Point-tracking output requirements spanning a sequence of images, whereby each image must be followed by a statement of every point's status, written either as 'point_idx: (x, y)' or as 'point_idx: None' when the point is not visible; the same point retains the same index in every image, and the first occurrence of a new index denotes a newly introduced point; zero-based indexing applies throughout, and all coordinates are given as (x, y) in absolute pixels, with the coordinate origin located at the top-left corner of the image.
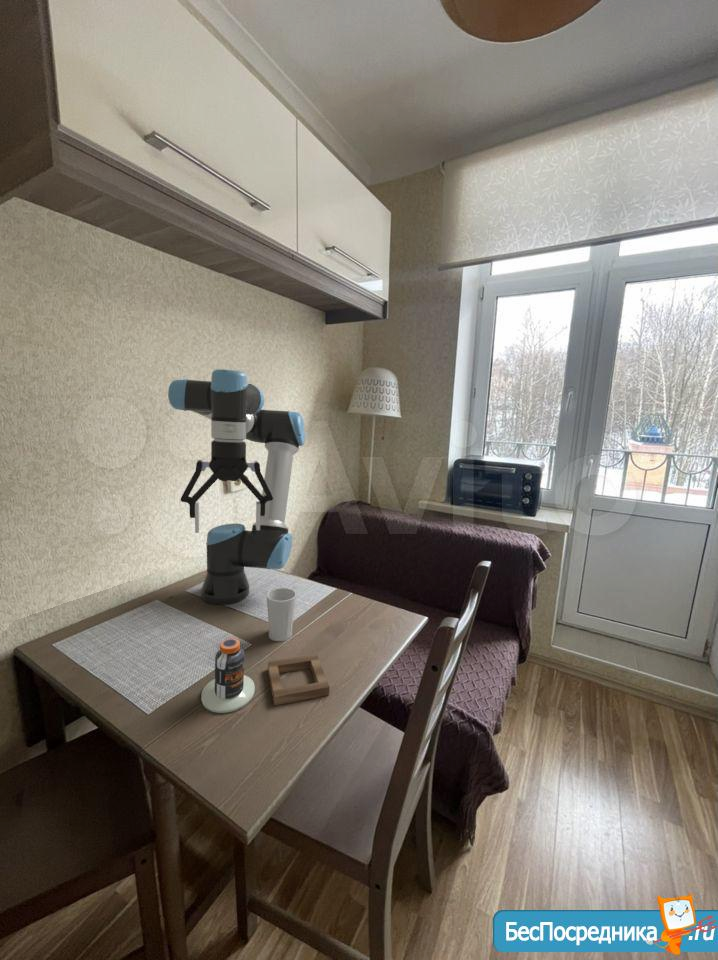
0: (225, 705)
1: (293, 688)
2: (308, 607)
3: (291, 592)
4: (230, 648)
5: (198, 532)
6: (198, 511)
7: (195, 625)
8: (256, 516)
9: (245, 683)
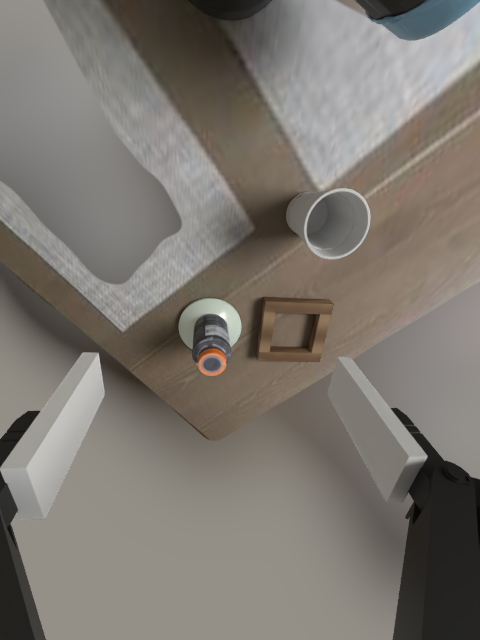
0: None
1: (281, 354)
2: (398, 120)
3: (363, 210)
4: (211, 375)
5: (103, 395)
6: (63, 480)
7: (154, 117)
8: (356, 414)
9: (231, 322)
